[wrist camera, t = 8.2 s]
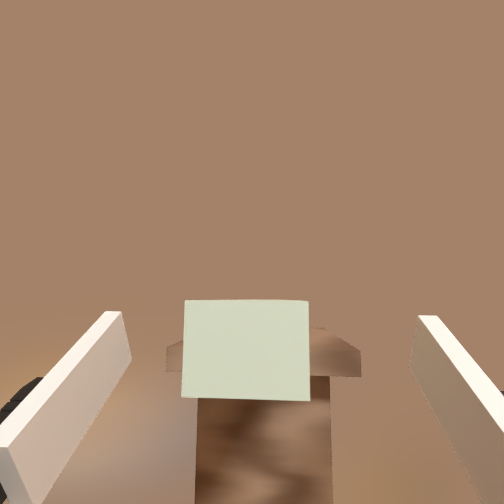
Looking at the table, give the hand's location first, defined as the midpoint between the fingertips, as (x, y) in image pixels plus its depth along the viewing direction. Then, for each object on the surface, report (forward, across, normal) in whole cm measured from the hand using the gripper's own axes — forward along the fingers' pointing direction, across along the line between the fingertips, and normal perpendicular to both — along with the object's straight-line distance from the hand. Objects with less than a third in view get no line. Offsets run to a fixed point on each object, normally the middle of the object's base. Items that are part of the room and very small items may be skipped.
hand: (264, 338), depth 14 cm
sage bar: (+8, 0, -6) cm, 10 cm away
